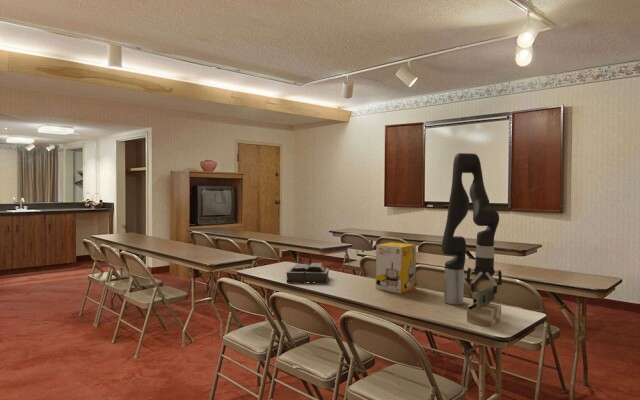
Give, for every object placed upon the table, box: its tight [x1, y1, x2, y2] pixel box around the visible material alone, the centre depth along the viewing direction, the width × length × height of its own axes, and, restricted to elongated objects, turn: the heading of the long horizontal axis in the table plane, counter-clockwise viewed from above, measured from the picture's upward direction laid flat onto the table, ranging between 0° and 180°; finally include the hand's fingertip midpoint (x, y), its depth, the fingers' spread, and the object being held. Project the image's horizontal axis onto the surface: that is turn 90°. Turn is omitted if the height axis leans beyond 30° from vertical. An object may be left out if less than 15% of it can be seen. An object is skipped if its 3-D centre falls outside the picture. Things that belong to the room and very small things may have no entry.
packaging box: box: [375, 241, 417, 294], centre depth 254 cm, size 16×16×25 cm
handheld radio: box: [468, 285, 496, 310], centre depth 194 cm, size 7×3×25 cm
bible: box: [286, 262, 330, 284], centre depth 274 cm, size 23×27×10 cm
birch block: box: [466, 302, 502, 328], centre depth 194 cm, size 12×10×7 cm
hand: (483, 293), depth 194 cm, fingers open, 8 cm apart
